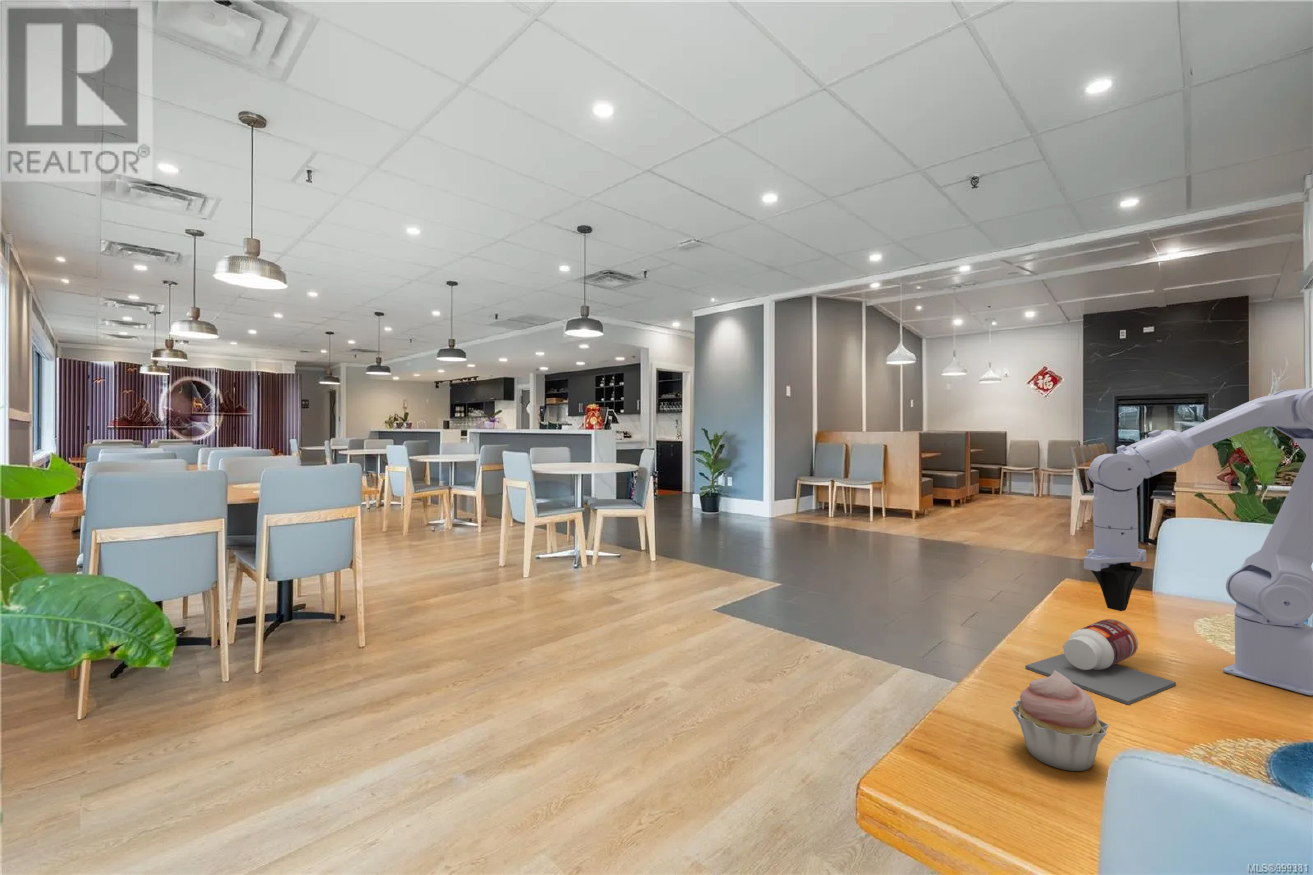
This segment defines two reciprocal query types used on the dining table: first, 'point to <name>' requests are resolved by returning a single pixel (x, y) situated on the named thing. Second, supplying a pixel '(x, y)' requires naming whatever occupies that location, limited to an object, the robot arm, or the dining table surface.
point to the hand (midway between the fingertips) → (1116, 609)
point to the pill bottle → (1100, 645)
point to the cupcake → (1059, 723)
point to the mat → (1105, 679)
